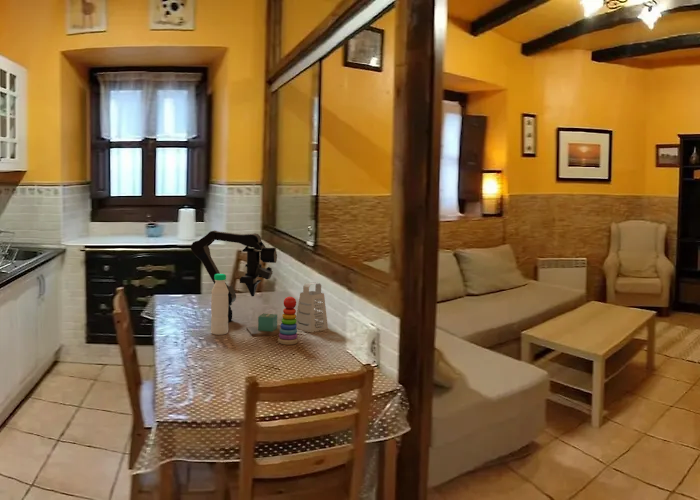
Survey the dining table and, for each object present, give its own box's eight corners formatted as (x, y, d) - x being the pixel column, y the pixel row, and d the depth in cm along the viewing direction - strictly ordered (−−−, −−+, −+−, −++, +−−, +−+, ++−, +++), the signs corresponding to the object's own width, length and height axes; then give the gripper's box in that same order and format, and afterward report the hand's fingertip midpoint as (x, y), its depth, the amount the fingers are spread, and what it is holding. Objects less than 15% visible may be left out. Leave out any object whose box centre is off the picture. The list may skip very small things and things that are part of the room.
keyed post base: (251, 336, 257) (251, 324, 257) (246, 329, 268) (246, 317, 268) (289, 334, 263) (289, 322, 262) (282, 327, 274) (282, 316, 273)
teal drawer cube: (272, 331, 262) (273, 317, 261) (258, 330, 263) (258, 315, 262) (277, 328, 268) (277, 313, 267) (262, 327, 269) (263, 312, 269)
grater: (328, 328, 275) (329, 283, 272) (310, 332, 267) (311, 286, 265) (311, 324, 282) (312, 280, 279) (294, 327, 274) (295, 283, 272)
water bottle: (231, 332, 262) (232, 273, 259) (221, 336, 256) (221, 276, 253) (217, 330, 265) (218, 272, 262) (207, 333, 259) (207, 274, 256)
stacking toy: (282, 346, 244) (283, 299, 242) (275, 341, 251) (275, 295, 249) (300, 344, 248) (302, 297, 246) (293, 339, 255) (294, 294, 253)
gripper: (264, 265, 268) (263, 301, 270) (276, 260, 286) (276, 293, 288) (239, 264, 270) (239, 299, 271) (253, 258, 288) (252, 292, 290)
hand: (252, 296), depth 280 cm, fingers closed
